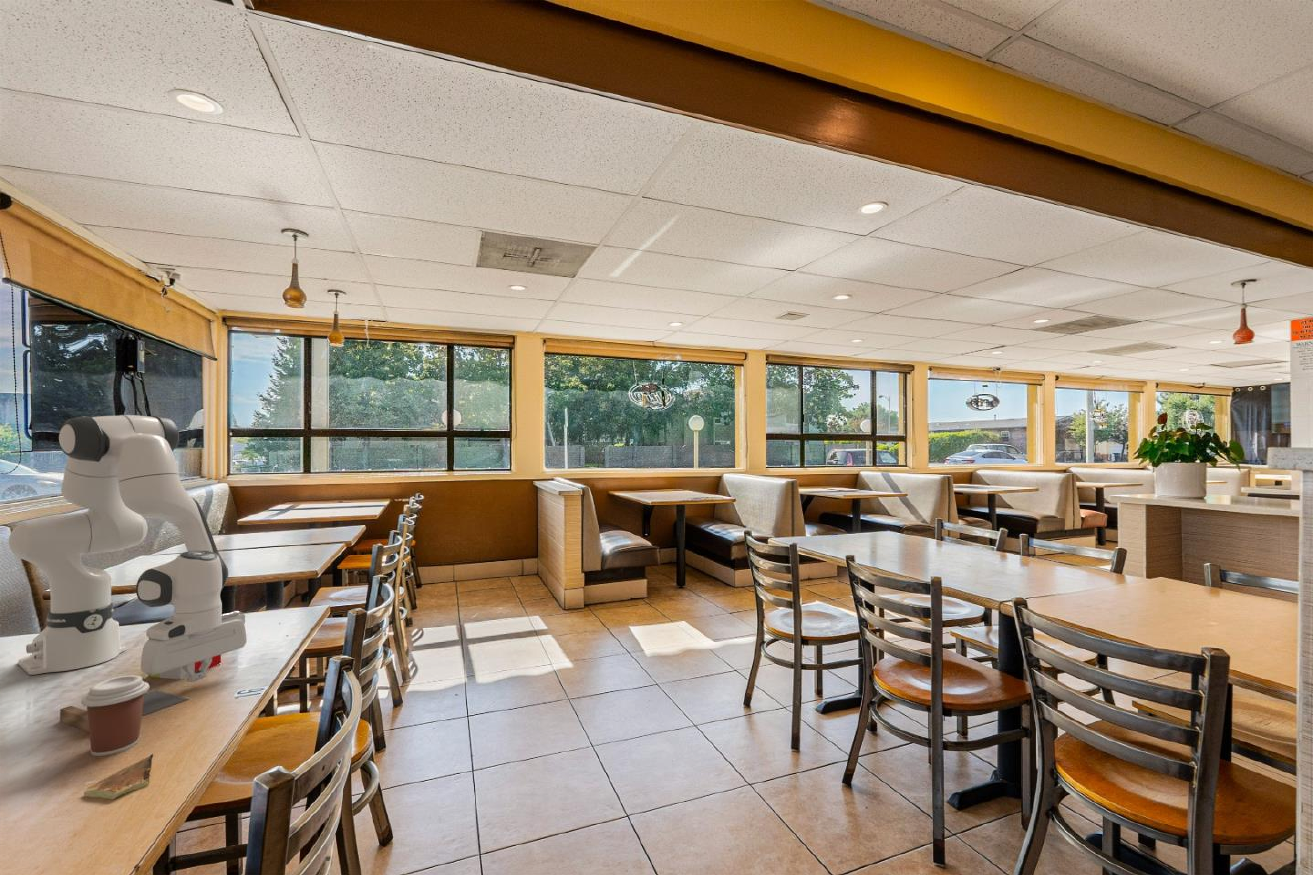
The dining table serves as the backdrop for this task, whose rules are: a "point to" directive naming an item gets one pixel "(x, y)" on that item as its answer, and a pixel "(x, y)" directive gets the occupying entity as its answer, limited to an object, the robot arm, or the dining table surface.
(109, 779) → the shard
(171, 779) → the dining table surface
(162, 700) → the mark
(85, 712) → the brown long bar
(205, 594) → the robot arm
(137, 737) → the coffee cup
